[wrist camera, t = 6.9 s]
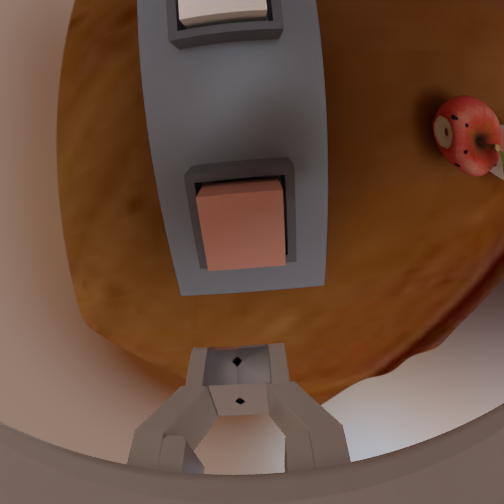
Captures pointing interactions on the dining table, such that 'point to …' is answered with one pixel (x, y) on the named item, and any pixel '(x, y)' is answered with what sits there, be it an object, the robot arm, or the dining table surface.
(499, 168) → the white short cylinder
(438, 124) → the apple
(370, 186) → the dining table surface
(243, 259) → the key brick
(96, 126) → the dining table surface
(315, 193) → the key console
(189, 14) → the key ivory
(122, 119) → the dining table surface
